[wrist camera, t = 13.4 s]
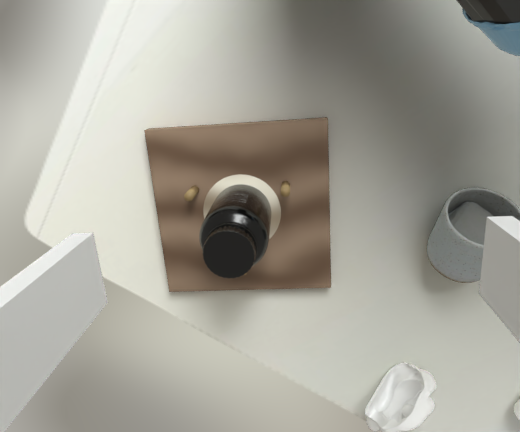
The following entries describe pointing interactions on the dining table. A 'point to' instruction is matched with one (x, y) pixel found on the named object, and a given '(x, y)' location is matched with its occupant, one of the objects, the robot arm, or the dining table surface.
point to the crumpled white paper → (401, 399)
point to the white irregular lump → (517, 409)
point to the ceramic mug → (465, 232)
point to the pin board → (253, 174)
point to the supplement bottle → (236, 231)
